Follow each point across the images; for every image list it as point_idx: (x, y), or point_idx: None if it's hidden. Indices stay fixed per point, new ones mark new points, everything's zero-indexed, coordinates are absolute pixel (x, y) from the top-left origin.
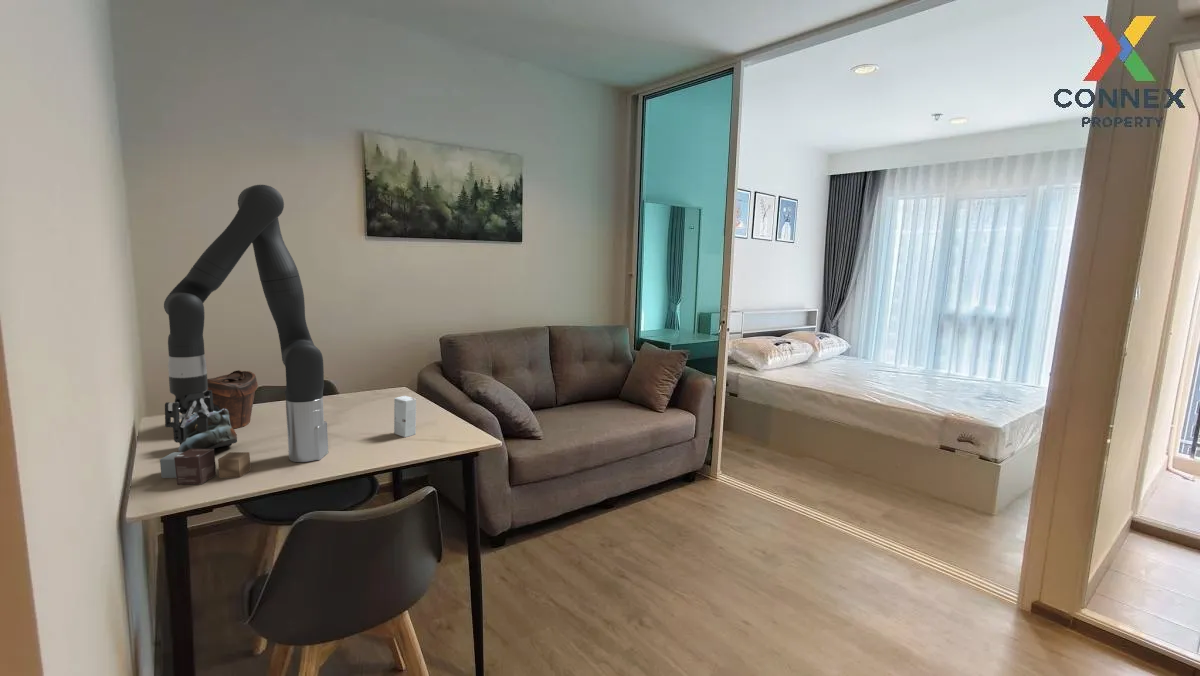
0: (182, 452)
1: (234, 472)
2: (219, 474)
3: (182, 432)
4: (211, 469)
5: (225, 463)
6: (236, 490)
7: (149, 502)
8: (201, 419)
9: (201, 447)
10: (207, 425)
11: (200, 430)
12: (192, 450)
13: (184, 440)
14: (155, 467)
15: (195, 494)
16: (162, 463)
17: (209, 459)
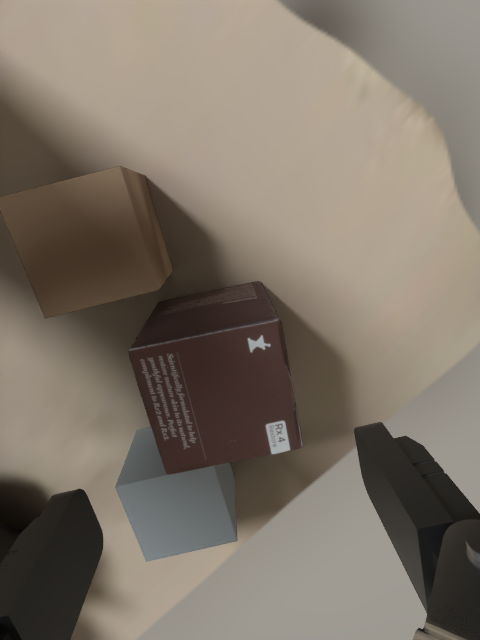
0: (135, 527)
1: (146, 200)
2: (171, 271)
3: (423, 486)
4: (186, 303)
5: (151, 246)
6: (281, 58)
7: (437, 329)
8: (42, 628)
9: (5, 541)
10: (40, 527)
11: (95, 530)
12: (191, 442)
13: (375, 426)
14: (162, 567)
15: (350, 219)
16: (234, 516)
17: (189, 319)
